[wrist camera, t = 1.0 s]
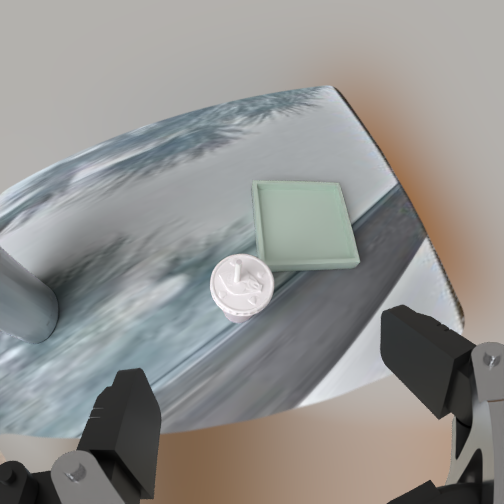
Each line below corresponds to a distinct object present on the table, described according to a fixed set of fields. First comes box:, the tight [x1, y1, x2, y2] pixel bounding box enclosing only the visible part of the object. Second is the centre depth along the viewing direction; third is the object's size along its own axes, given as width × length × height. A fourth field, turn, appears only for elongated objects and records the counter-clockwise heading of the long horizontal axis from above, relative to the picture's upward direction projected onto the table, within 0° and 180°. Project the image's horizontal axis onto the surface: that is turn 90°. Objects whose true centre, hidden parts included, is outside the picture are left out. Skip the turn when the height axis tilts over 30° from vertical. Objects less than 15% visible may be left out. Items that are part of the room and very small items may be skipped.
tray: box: [251, 181, 360, 272], centre depth 43 cm, size 14×14×2 cm
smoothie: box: [210, 254, 274, 323], centre depth 32 cm, size 6×6×14 cm
